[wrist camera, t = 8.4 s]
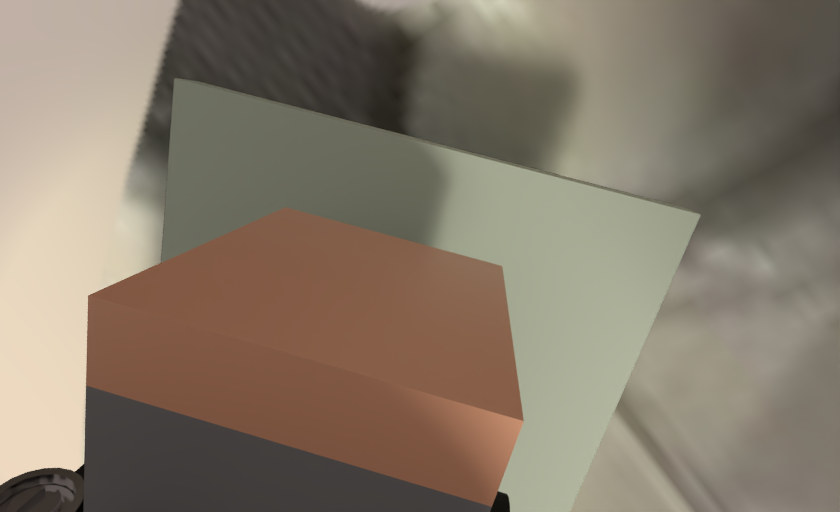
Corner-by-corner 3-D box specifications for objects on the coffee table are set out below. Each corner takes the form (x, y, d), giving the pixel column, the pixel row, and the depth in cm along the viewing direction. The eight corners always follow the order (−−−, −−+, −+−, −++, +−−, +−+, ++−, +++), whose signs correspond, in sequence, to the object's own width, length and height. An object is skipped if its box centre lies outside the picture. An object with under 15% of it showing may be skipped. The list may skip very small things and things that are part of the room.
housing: (400, 588, 13) (346, 897, 8) (234, 537, 13) (76, 802, 8) (502, 266, 10) (524, 421, 5) (285, 207, 10) (88, 296, 5)
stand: (633, 185, 17) (700, 214, 12) (517, 485, 21) (528, 606, 16) (266, 90, 18) (174, 77, 12) (226, 398, 22) (144, 486, 17)
